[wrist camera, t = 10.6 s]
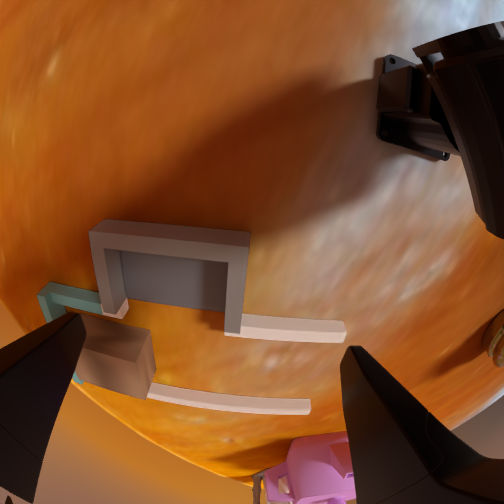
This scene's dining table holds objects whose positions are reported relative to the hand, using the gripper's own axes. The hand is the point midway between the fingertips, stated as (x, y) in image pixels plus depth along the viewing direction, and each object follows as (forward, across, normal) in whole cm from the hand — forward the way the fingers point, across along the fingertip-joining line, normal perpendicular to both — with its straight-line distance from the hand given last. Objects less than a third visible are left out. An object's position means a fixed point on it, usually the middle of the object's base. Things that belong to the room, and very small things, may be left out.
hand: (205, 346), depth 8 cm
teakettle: (+12, -18, +36) cm, 42 cm away
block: (+12, +12, +14) cm, 22 cm away
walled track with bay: (+12, +5, +11) cm, 17 cm away
